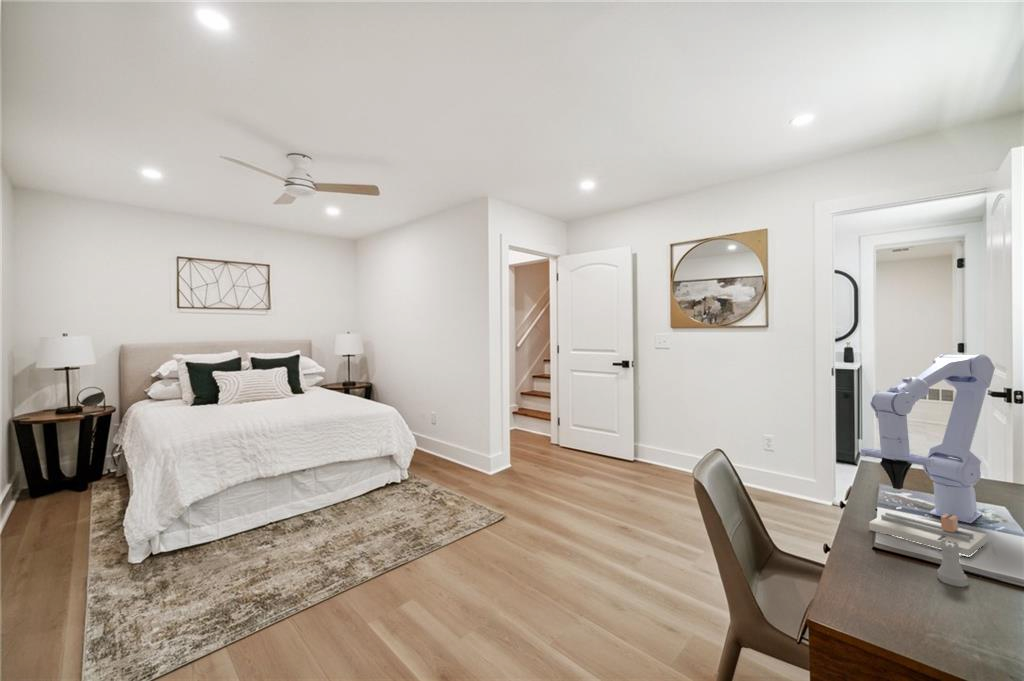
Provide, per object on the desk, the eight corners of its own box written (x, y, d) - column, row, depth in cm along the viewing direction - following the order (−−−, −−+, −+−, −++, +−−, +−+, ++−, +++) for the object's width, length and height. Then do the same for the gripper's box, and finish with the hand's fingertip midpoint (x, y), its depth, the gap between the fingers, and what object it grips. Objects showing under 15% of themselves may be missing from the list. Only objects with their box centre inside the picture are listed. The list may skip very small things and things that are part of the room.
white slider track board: (889, 517, 114) (888, 506, 114) (986, 542, 99) (985, 530, 99) (869, 529, 109) (868, 518, 109) (969, 558, 93) (968, 544, 93)
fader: (946, 529, 101) (945, 512, 101) (958, 532, 100) (957, 515, 100) (942, 533, 100) (940, 516, 100) (953, 536, 98) (952, 518, 98)
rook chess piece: (975, 588, 83) (972, 548, 83) (948, 587, 83) (945, 547, 84) (956, 576, 87) (953, 537, 87) (931, 575, 88) (928, 537, 88)
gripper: (853, 435, 115) (858, 484, 115) (924, 444, 103) (929, 499, 103) (865, 431, 119) (869, 478, 119) (935, 439, 106) (939, 492, 106)
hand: (898, 488), depth 111 cm, fingers closed
